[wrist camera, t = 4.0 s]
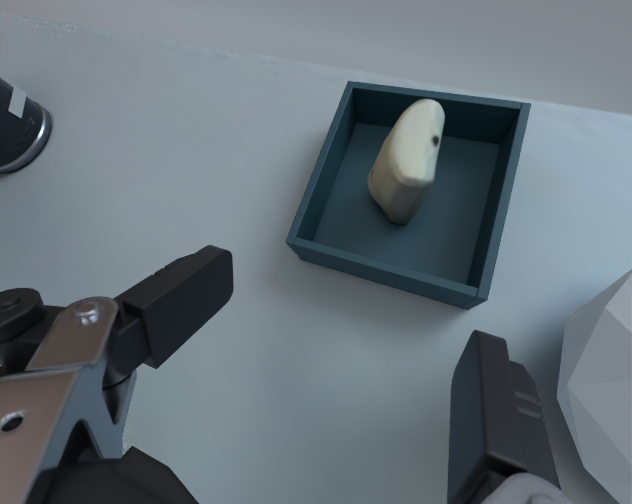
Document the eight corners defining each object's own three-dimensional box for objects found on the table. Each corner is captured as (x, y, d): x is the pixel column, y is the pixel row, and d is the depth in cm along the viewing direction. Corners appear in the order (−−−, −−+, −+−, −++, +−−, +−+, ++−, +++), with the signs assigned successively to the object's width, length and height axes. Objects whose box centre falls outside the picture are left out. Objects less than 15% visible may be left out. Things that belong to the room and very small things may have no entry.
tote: (299, 259, 26) (284, 242, 22) (352, 117, 29) (347, 80, 25) (468, 310, 23) (487, 300, 19) (508, 142, 26) (531, 103, 22)
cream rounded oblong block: (450, 217, 25) (480, 157, 17) (387, 242, 25) (389, 195, 17) (418, 159, 26) (432, 83, 19) (360, 183, 27) (351, 118, 19)
